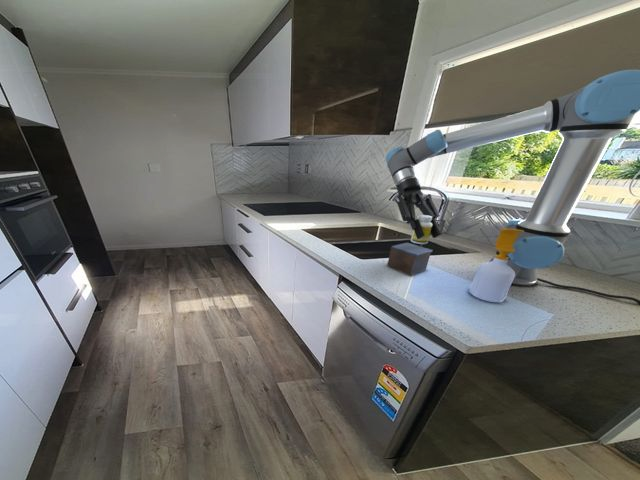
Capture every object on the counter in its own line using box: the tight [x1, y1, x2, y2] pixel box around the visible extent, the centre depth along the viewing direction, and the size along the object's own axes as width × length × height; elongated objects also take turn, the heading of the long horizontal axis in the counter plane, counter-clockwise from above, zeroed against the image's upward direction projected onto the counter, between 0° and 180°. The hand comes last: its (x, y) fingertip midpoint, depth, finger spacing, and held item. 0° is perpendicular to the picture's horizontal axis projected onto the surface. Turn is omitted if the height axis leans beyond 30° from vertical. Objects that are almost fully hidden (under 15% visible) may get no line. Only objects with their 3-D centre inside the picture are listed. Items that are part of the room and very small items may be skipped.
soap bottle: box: [469, 227, 524, 303], centre depth 80 cm, size 9×9×25 cm
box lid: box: [390, 242, 434, 256], centre depth 102 cm, size 11×11×1 cm
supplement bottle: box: [410, 214, 432, 245], centre depth 88 cm, size 5×5×10 cm
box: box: [386, 247, 432, 277], centre depth 104 cm, size 11×11×9 cm
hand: (428, 236), depth 85 cm, fingers closed on supplement bottle, 5 cm apart
